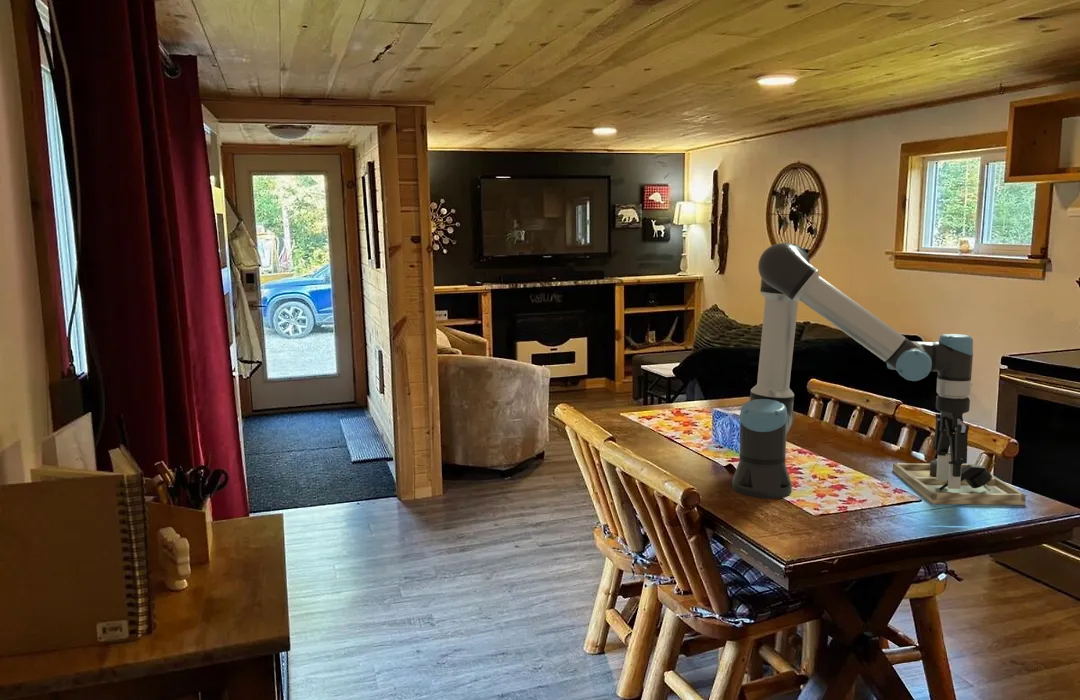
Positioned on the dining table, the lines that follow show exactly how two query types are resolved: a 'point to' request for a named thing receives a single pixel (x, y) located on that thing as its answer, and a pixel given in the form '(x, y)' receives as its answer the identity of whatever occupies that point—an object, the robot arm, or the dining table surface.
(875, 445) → the dining table surface
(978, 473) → the power plug
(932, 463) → the dark gray rounded block
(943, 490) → the organizer
